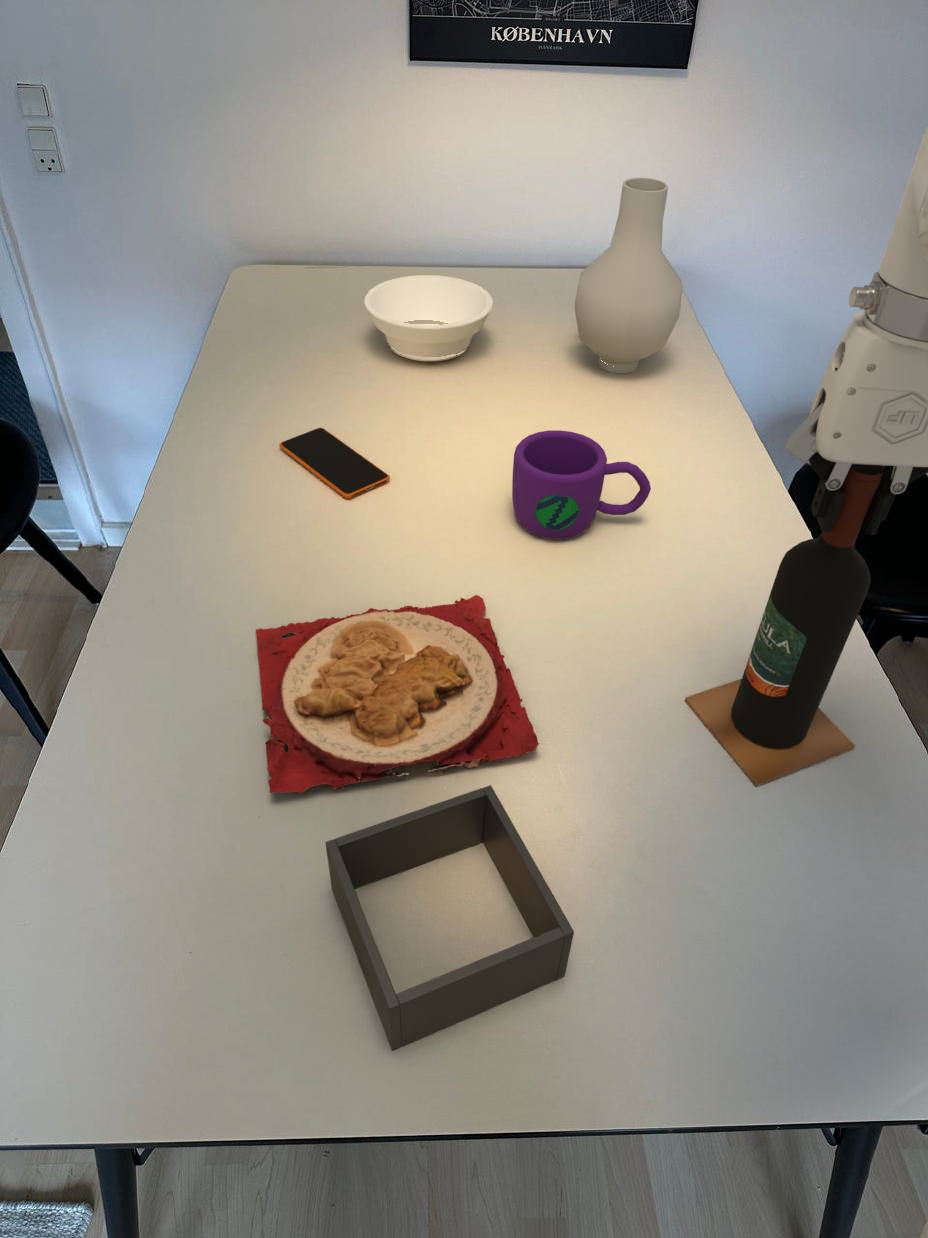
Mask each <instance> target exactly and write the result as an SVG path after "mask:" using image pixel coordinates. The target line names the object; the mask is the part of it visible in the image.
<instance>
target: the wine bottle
mask: <svg viewBox="0 0 928 1238" xmlns="http://www.w3.org/2000/svg"><path fill="white" fill-rule="evenodd" d="M883 471H884V467H883V465H866V464H852V465H851V467H850V469H849V471H848V473H847V476H846V478H845V480H844V483H843V485H842V486H843V488H844V491H845V498H844V500H843V503H842V506H841V509H840V511H839V514H838V517H837V519H836V522H835V525H834V527H833V530H832V531H830V532H822V531H821V533H820V535H819V536H818V537H816V538H809V539H807V540H803V541H801V542H799V543H797V544H795V545H794V546H792V547H791V548H790V549H788V550H787V551H786V552H785V553H784V554H783V555H784V556H783V557H782V559H781V561H780V564H779V566H778V568H777V571H776V575H775V578H774V581H773V584H772V586H771V591H770V592H769V596H768V599H767V601H766V605H765V608H764V610H763V614H762V617H761V619H760V623H759V627H758V629H757V632H756V636H755V638H754V641H753V644H752V647H751V649H750V652H749V656H748V658H747V662H746V665H745V668H744V670H743V673H742V677H741V679H742V680H741V683H740V686H739V689H738V692H737V695H736V698H735V701H734V704H733V706H732V709H731V712H732V720H733V722H734V724H735V726H736V728H737V729H738V730H739V731H740V732H741V733H742V734H743V735H744V736H745V737H747V738H748V739H750V740H751V741H753V742H755V743H757V744H760V745H762V746H765V747H770V748H777V749H780V748H790V747H792V746H795V745H797V744H799V743H800V742H801V741H802V740H803V739H804V738H805V737H806V735H807V732H808V730H809V728H810V725H811V723H812V721H813V718H814V716H815V714H816V711H817V709H818V708H820V707H819V706H820V704H821V702H822V699H823V697H824V695H825V692H826V691H827V688H828V685H829V683H830V681H831V679H832V677H833V674H834V672H835V669H836V667H837V665H838V662H839V660H840V657H841V656H842V654H843V651H844V649H845V646H846V644H847V641H848V639H849V637H850V635H851V633H852V629H853V627H854V625H855V623H856V621H857V618H858V615H859V613H860V611H861V609H862V606H863V605H864V602H865V599H866V597H867V594H868V592H869V588H870V585H871V579H872V578H871V577H872V576H871V573H870V569H869V567H868V565H867V562H866V560H865V558H863V556H862V555H861V553H859V552H858V551H857V549H855V547H856V541H857V539H858V536H859V533H860V531H861V528H862V527H863V526H862V524H863V521H864V519H865V516H866V514H867V511H868V509H869V506H870V504H871V501H872V499H873V496H874V494H875V491H876V490H877V489H878V486H879V484H880V481H881V478H882V473H883Z"/></svg>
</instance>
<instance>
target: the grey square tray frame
mask: <svg viewBox="0 0 928 1238" xmlns="http://www.w3.org/2000/svg"><path fill="white" fill-rule="evenodd" d="M481 843H483V844H484V846H485V848H486V850H487V852H488V854H489V856H490V858H491V859H492V861H493V863H494V865H495V867H496V869H497V871H498V873H499V875H500V876H501V878H502V880H503V883H504V884H505V886H506V888H507V890H508V891H509V893H510V895H511V898H512V899H513V901H514V903H515V905H516V907H517V908H518V910H519V912H520V914H521V916H522V918H523V920H524V922H525V924H526V925H527V927H528V930H529V931H530V933H531V936H532V938H529V939H527V940H524V941H522V942H519V943H517V944H514V945H512V946H510V947H507V948H505V949H503V950H500V951H498V952H496V953H493V954H490V955H488V956H485V957H484V958H480V959H478V960H476V961H472V962H471V963H469V964H466V965H463V966H461V967H459V968H457V969H454V970H452V971H449V972H446V973H443V974H442V975H440V976H436V977H434V978H432V979H430V980H427V981H424V982H422V983H420V984H418V985H415V986H412V987H410V988H408V989H405V990H403V991H401V992H398V993H396V991H395V989H394V987H393V984H392V981H391V979H390V976H389V974H388V971H387V969H386V966H385V963H384V960H383V958H382V955H381V953H380V950H379V948H378V946H377V943H376V941H375V938H374V935H373V932H372V930H371V928H370V926H369V922H368V920H367V917H366V915H365V912H364V910H363V907H362V904H361V902H360V900H359V897H358V895H357V892H356V889H358V888H361V887H364V886H367V885H369V884H372V883H375V882H377V881H380V880H383V879H386V878H389V877H392V876H394V875H396V874H400V873H402V872H405V871H408V870H411V869H413V868H416V867H418V866H422V865H424V864H427V863H430V862H433V861H435V860H438V859H441V858H443V857H445V856H449V855H451V854H454V853H457V852H459V851H462V850H465V849H468V848H470V847H473V846H476V845H479V844H481ZM325 850H326V857H327V864H328V870H329V871H328V872H329V878H330V888H331V891H332V894H333V897H334V899H335V902H336V905H337V907H338V911H339V913H340V915H341V918H342V921H343V923H344V926H345V928H346V932H347V934H348V937H349V940H350V942H351V945H352V949H353V951H354V953H355V955H356V958H357V961H358V964H359V967H360V970H361V972H362V975H363V977H364V980H365V982H366V985H367V988H368V991H369V994H370V996H371V999H372V1002H373V1004H374V1007H375V1010H376V1011H377V1012H376V1013H377V1015H378V1018H379V1020H380V1024H381V1025H382V1028H383V1031H384V1033H385V1036H386V1039H387V1043H388V1044H389V1047H390V1050H391V1051H395V1050H397V1049H399V1048H402V1047H404V1046H407V1045H409V1044H411V1043H414V1042H417V1041H418V1040H421V1039H424V1038H425V1037H428V1036H430V1035H432V1034H436V1033H437V1032H439V1031H441V1030H444V1029H446V1028H448V1027H451V1026H453V1025H456V1024H458V1023H460V1022H464V1021H465V1020H467V1019H469V1018H472V1017H474V1016H476V1015H478V1014H481V1013H484V1012H486V1011H488V1010H490V1009H493V1008H495V1007H497V1006H500V1005H502V1004H504V1003H507V1002H509V1001H511V1000H513V999H516V998H518V997H521V996H523V995H525V994H527V993H530V992H532V991H534V990H537V989H539V988H541V987H545V986H546V985H549V984H550V983H553V982H556V981H557V980H559V979H561V978H564V977H565V976H566V972H567V967H568V962H569V958H570V953H571V949H572V945H573V939H574V934H575V931H574V929H573V927H572V925H571V924H570V922H569V920H568V918H567V916H566V915H565V913H564V911H563V910H562V908H561V906H560V905H559V903H558V901H557V899H556V897H555V896H554V893H553V892H552V890H551V889H550V887H549V885H548V882H547V881H546V879H545V877H544V876H543V874H542V873H541V871H540V870H539V867H538V866H537V863H536V862H535V860H534V858H533V857H532V854H531V853H530V852H529V850H528V848H527V846H526V844H525V843H524V840H523V839H522V837H521V835H520V834H519V832H518V830H517V828H516V827H515V825H514V823H513V821H512V819H511V818H510V816H509V815H508V812H507V811H506V809H505V808H504V805H503V804H502V802H501V800H500V799H499V797H498V795H497V793H496V791H495V790H494V787H493V786H492V785H491V784H490V785H487V786H484V787H481V788H478V789H474V790H471V791H469V792H466V793H463V794H460V795H458V796H454V797H452V798H449V799H446V800H443V801H439V802H436V803H433V804H432V805H431V804H430V805H428V806H425V807H423V808H419V809H417V810H414V811H411V812H409V813H405V814H403V815H399V816H396V817H394V818H391V819H388V820H385V821H381V822H379V823H377V824H374V825H371V826H368V827H365V828H362V829H359V830H356V831H353V832H350V833H348V834H347V833H346V834H344V835H341V836H339V837H335V838H333V839H329V840H327V841H325Z"/></svg>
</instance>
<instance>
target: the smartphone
mask: <svg viewBox="0 0 928 1238" xmlns="http://www.w3.org/2000/svg"><path fill="white" fill-rule="evenodd" d="M278 446H279V448H280V449H281V450H282V451H284V452H285V453H286V454H287V455H289V456H290V457H292V458H293V459H294V460H295V461H297V462H298V463H299V464H301V465H302V466H303V467H304V468H306V469H307V470H308V471H309V472H310V473H312V474H313V475H315V476H316V477H318V478H319V479H320V480H321V481H322V482H324V483H325V484H326V485H327V486H329V487H330V488H332V489H333V490H334V491H336V492H337V493H338V494H339V495H341V496H342V497H343V498H345V499H351V498H354V497H356V496H358V495H360V494H363V493H364V492H367V491H369V490H371V489H374V488H377V487H379V486H380V485H383V484H385V483H387V482H389V481H390V480H391V476H390V474H388V473H387V472H385V471H383V470H382V469H381V468H380V467H378V466H377V465H375V464H374V463H373V462H371V461H370V460H368V458H366V457H364V456H363V455H362V454H360V453H359V452H357V451H356V450H354V449H353V448H352V447H350V446H349V445H348V444H346V443H345V442H343V440H341V439H339V438H338V437H336V436H335V435H333V434H332V433H331V432H330V431H328V430H326V429H325V428H323V427H317V428H314V429H312V430H309V431H307V432H304V433H302V434H299V435H297V436H294V437H291V438H288V439H286V440H284V441H283V440H282V441H281V442H280V443H279V444H278Z"/></svg>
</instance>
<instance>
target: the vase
mask: <svg viewBox="0 0 928 1238" xmlns="http://www.w3.org/2000/svg"><path fill="white" fill-rule="evenodd" d="M668 191H669V185H668V183H666V182H665V181H663V180H660V179H656V178H650V177H631V178H627V179H625V180H624V181H623V182H622V186H621V193H620V201H619V208H618V215H617V219H616V221H615V227H614V230H613V234H612V237H611V241H610V245H609V247H608V248H606V249H605V250H604V251H603V252H602V253H601V254H600V255H599V256H597V258H595V259H594V260H593V261H592V262H591V263H590V264H589V265H588V266H587V267H585V268H584V269H583V270H582V271H581V272H580V273H579V278H578V283H577V289H576V295H575V300H574V313H575V320H576V325H577V332H578V337H579V339H580V341H582V343H583V344H584V345H585V347H587V348H588V349H590V350H591V351H592V352H594V353H595V354H596V355H598V356H599V360H598V363H599V366H600V368H602V369H603V370H605V371H608V372H610V373H615V374H627V373H632V372H634V371H636V370H637V368H638V366H639V361H640V360H643V359H645V358H648V357H649V356H651V355H653V354H656V353H658V352H660V351H661V350H662V349H663V348H664V347H665V346H666V344H667V342H668V341H669V338H670V336H671V334H672V333H673V330H674V328H675V327H676V324H677V323H678V320H679V318H680V315H681V305H682V297H683V288H684V286H683V281H682V279H681V277H680V275H679V274H678V273H677V271H676V270H675V268H674V267H673V266H672V264H671V262H670V261H669V259H668V258H667V256H666V254H665V253H664V252H663V250H662V249H663V227H664V226H663V224H664V216H665V210H666V203H667V197H668ZM600 358H601V359H600ZM601 360H602V361H603V362H602V361H601ZM604 362H605V363H606V364H605V363H604ZM637 362H638V363H637ZM607 364H608V365H607ZM613 366H614V367H613Z"/></svg>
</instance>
